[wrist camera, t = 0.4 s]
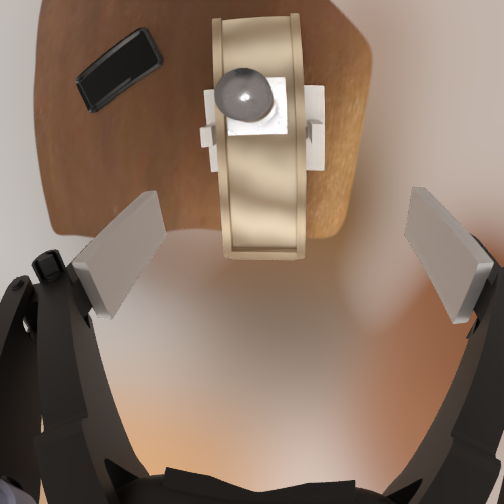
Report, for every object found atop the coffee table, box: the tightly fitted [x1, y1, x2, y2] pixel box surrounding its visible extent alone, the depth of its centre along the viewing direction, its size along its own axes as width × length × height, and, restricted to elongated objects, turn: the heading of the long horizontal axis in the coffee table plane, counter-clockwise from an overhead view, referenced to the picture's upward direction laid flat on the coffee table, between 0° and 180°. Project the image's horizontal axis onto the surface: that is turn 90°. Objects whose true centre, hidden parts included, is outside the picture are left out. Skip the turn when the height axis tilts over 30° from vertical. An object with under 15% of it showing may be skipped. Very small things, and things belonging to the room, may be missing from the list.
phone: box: [76, 27, 163, 113], centre depth 34 cm, size 8×1×15 cm
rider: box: [214, 68, 288, 136], centre depth 24 cm, size 6×6×13 cm
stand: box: [200, 85, 325, 172], centre depth 36 cm, size 20×16×7 cm
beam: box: [212, 13, 308, 260], centre depth 32 cm, size 30×11×5 cm, turn 3°
